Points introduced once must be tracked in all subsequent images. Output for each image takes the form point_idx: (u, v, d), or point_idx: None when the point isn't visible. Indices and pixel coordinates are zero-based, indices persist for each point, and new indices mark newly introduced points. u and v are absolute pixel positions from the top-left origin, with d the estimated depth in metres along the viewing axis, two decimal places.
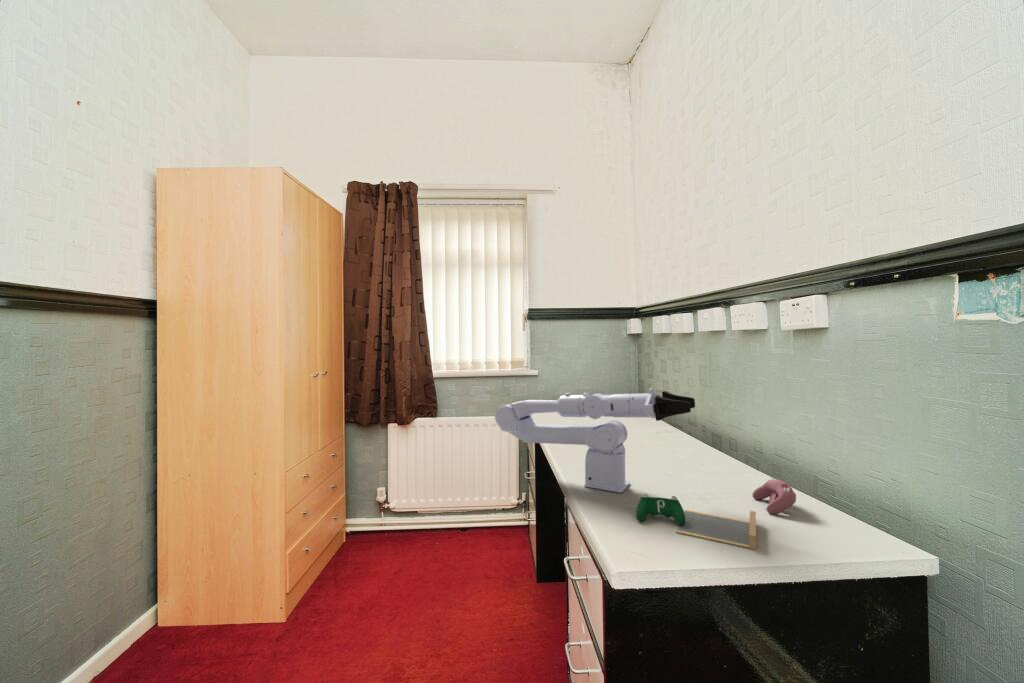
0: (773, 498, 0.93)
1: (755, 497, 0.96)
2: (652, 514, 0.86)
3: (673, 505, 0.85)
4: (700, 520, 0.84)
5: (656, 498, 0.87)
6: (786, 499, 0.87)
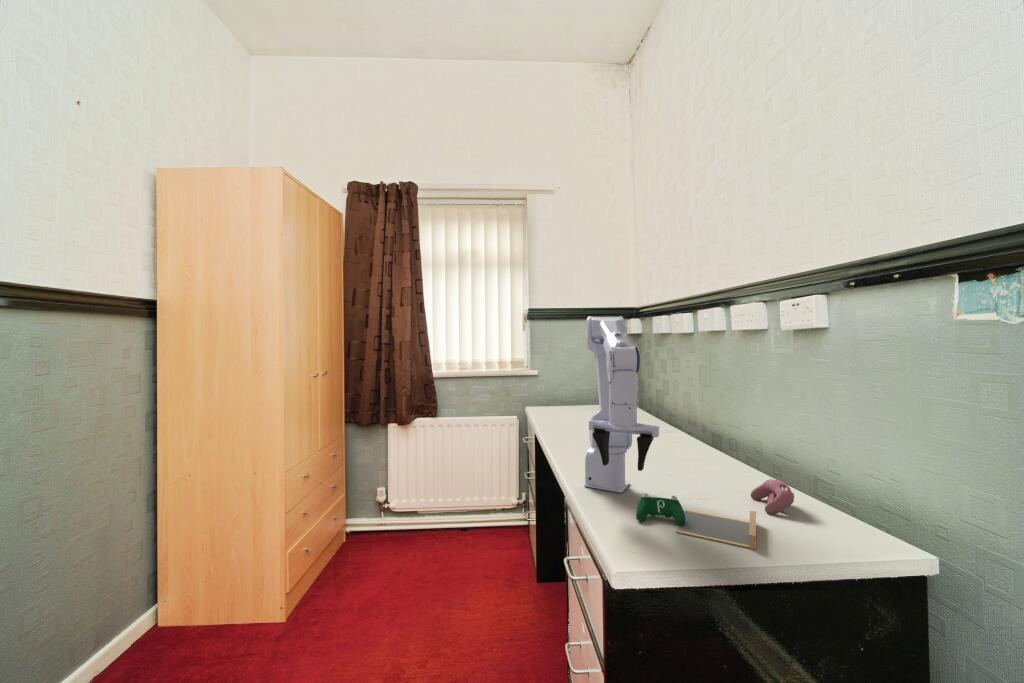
0: (771, 498, 0.93)
1: (753, 497, 0.96)
2: (652, 514, 0.86)
3: (673, 505, 0.85)
4: (700, 520, 0.84)
5: (656, 498, 0.87)
6: (784, 499, 0.87)
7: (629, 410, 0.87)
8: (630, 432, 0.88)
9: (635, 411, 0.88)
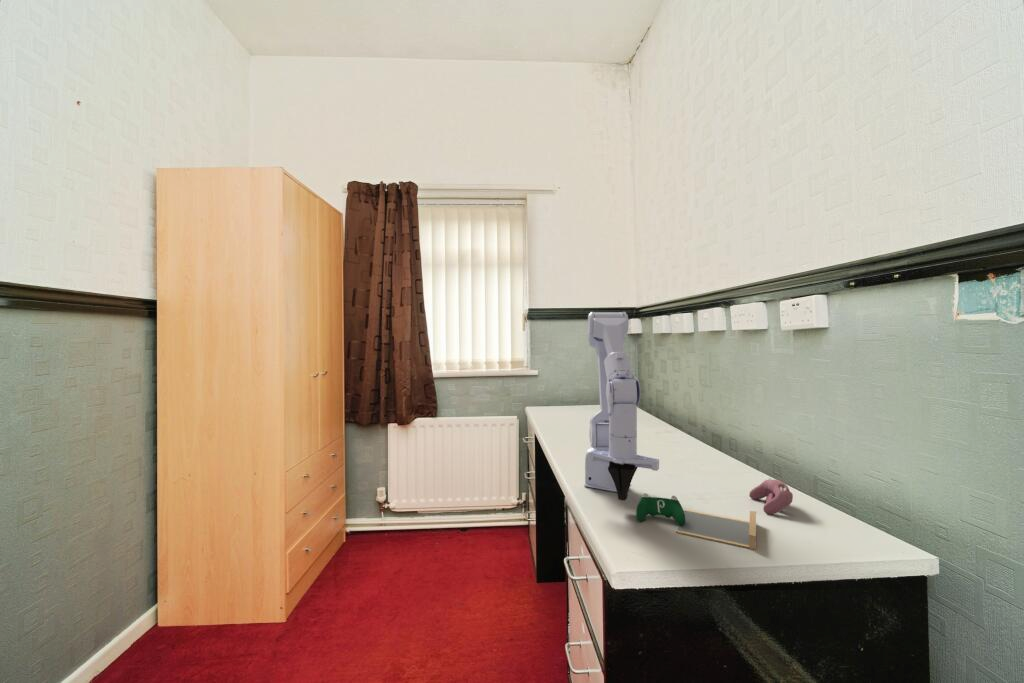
0: (770, 498, 0.93)
1: (752, 497, 0.96)
2: (652, 514, 0.86)
3: (673, 505, 0.85)
4: (700, 520, 0.84)
5: (656, 498, 0.87)
6: (783, 499, 0.87)
7: (629, 443, 0.87)
8: (630, 464, 0.88)
9: (635, 444, 0.88)
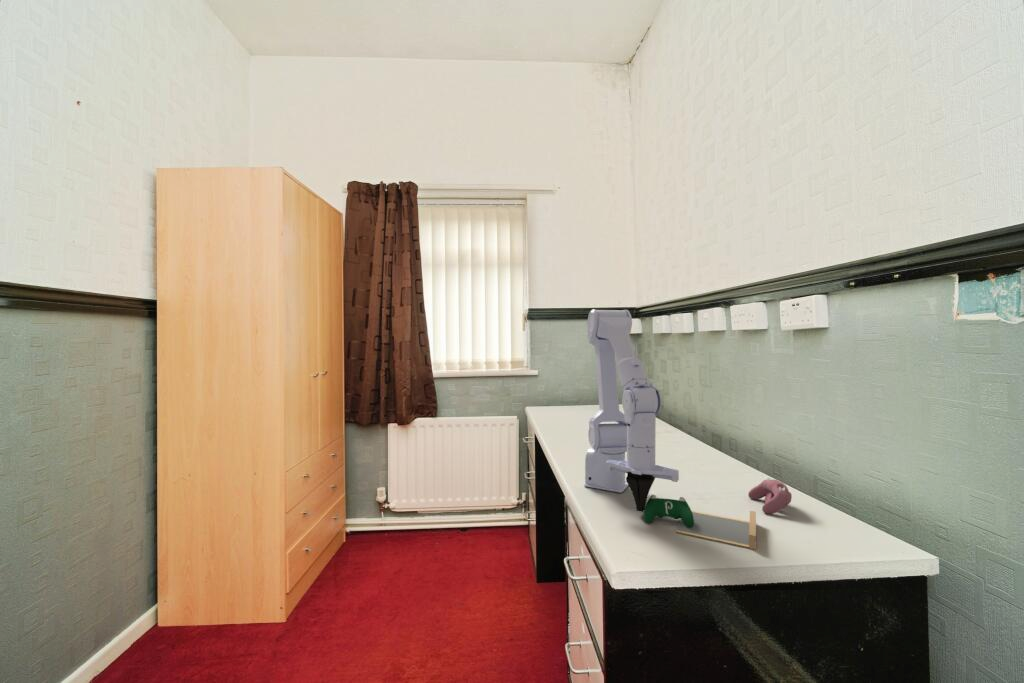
0: (769, 498, 0.93)
1: (751, 497, 0.96)
2: (660, 515, 0.85)
3: (681, 506, 0.84)
4: (700, 520, 0.84)
5: (664, 499, 0.86)
6: (782, 499, 0.87)
7: (648, 453, 0.85)
8: (648, 475, 0.86)
9: (654, 454, 0.86)
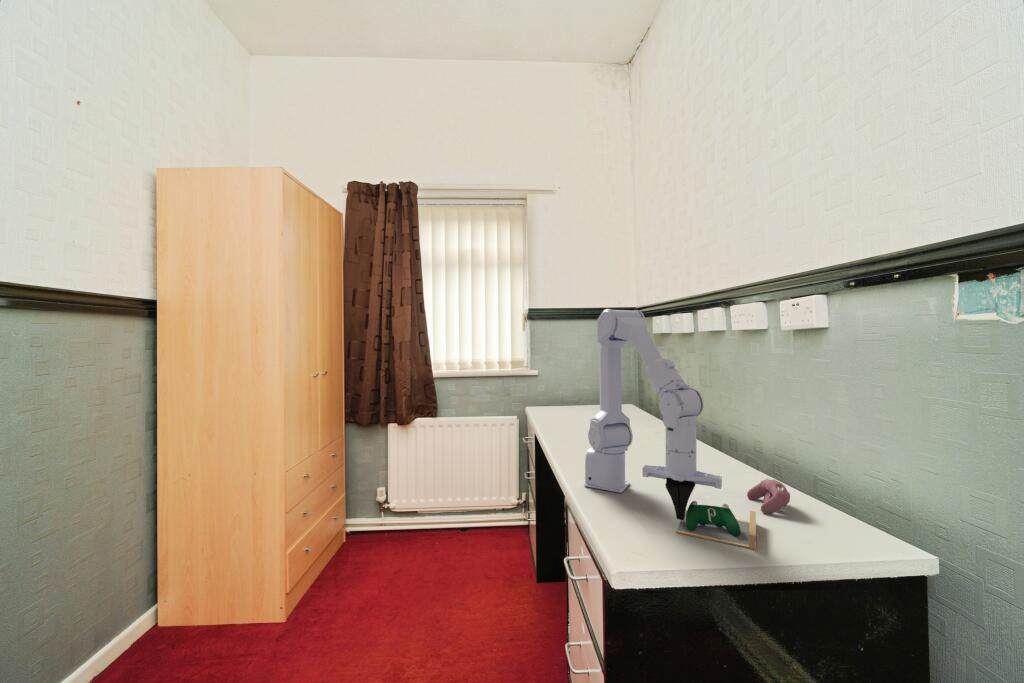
0: (767, 498, 0.93)
1: (750, 497, 0.96)
2: (702, 523, 0.81)
3: (725, 514, 0.80)
4: None
5: (706, 506, 0.83)
6: (780, 499, 0.87)
7: (690, 458, 0.81)
8: (689, 481, 0.83)
9: (695, 459, 0.82)
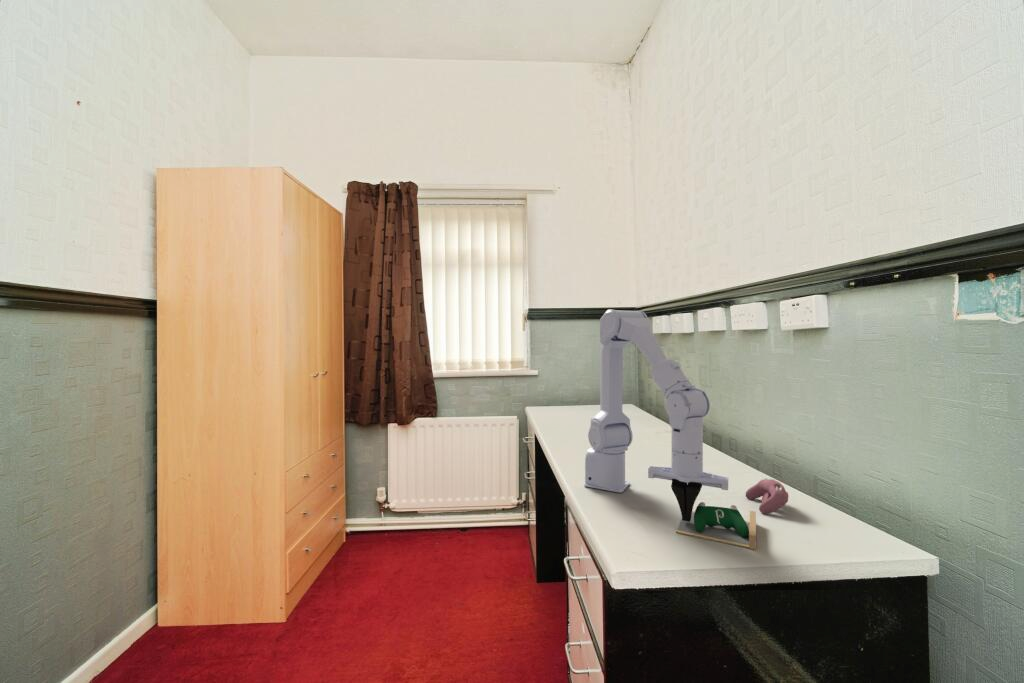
0: (766, 497, 0.93)
1: (748, 497, 0.96)
2: (711, 524, 0.81)
3: (734, 515, 0.80)
4: None
5: (714, 507, 0.82)
6: (778, 499, 0.87)
7: (696, 459, 0.80)
8: (695, 482, 0.82)
9: (701, 461, 0.81)
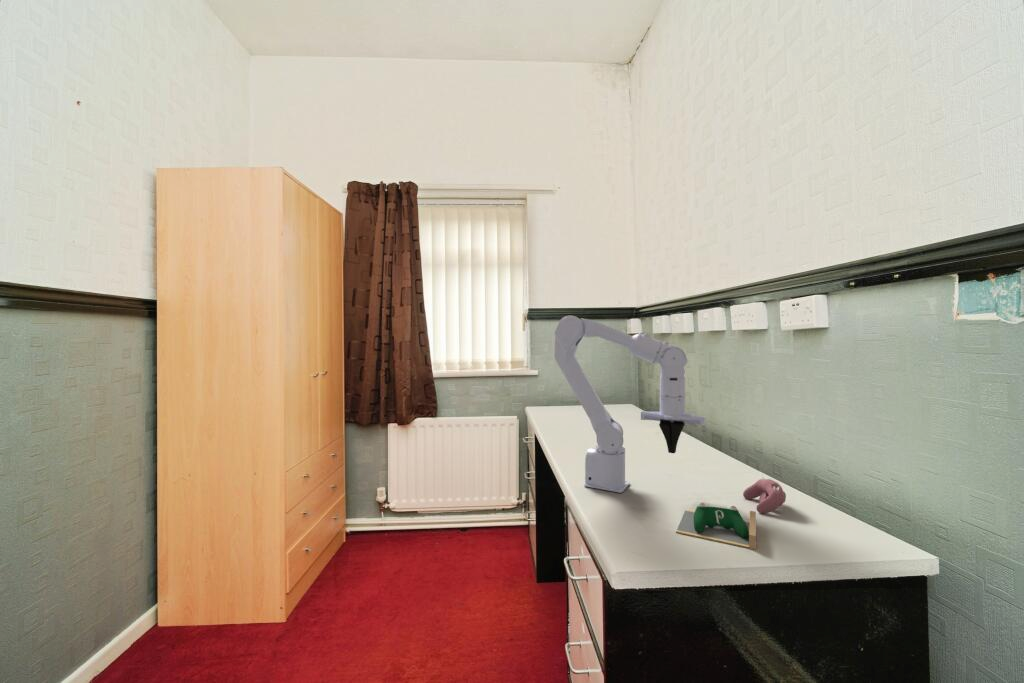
0: (763, 497, 0.93)
1: (746, 496, 0.96)
2: (710, 525, 0.80)
3: (733, 516, 0.79)
4: None
5: (714, 508, 0.82)
6: (776, 499, 0.88)
7: (679, 401, 0.99)
8: (679, 421, 1.00)
9: (684, 403, 1.00)
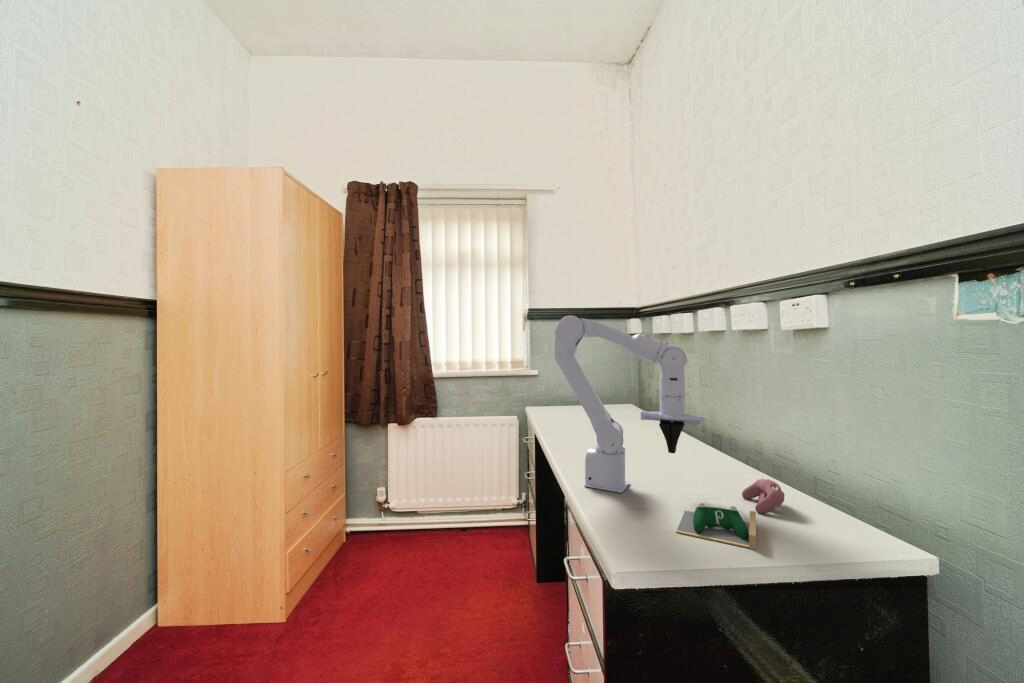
0: (762, 497, 0.93)
1: (744, 496, 0.96)
2: (710, 525, 0.80)
3: (733, 516, 0.79)
4: None
5: (713, 508, 0.81)
6: (775, 499, 0.88)
7: (679, 401, 0.99)
8: (679, 421, 1.00)
9: (684, 403, 1.00)
